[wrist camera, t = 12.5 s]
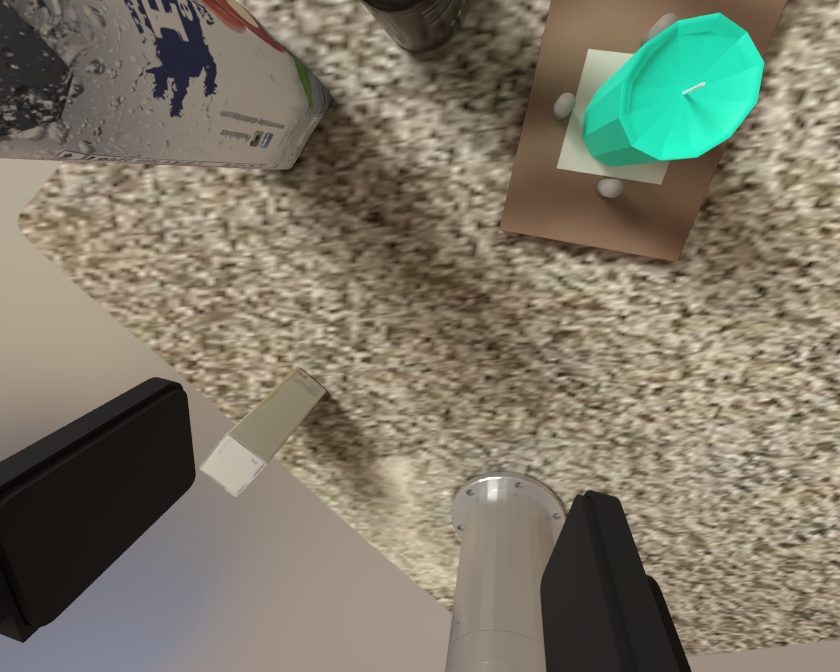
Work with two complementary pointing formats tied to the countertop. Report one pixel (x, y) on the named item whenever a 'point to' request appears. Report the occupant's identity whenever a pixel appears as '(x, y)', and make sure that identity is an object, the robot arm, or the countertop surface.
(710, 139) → the candle
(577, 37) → the brown pegged board
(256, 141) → the juice carton
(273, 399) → the skincare box
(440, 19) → the supplement bottle
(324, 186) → the countertop surface
